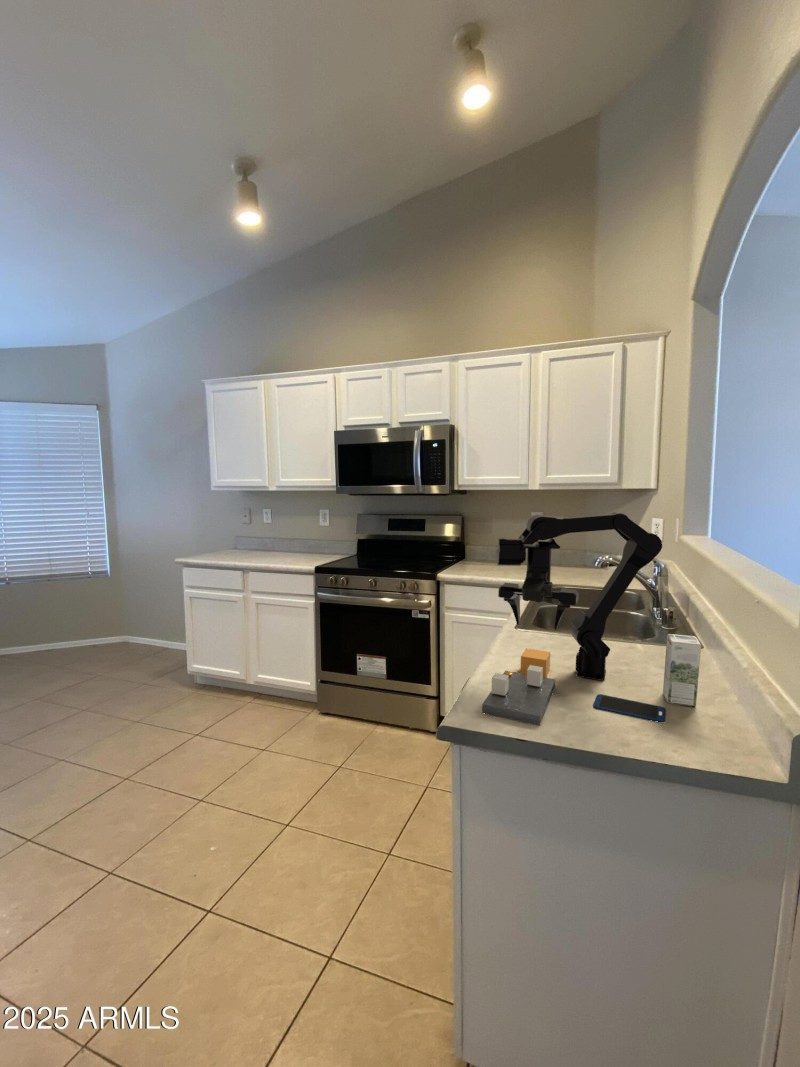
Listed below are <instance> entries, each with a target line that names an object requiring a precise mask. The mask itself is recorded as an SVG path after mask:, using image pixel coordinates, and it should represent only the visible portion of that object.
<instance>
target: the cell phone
mask: <svg viewBox="0 0 800 1067" xmlns="http://www.w3.org/2000/svg"><path fill="white" fill-rule="evenodd" d="M592 708H593V709H596V710H598V711H599V710H601V711H605V712H608V713H612V714H618V715H623V716H627V717H631V718H632V717H633V718H636V719H641V720H646V721H650V720H652V721H651V722H655V721H658V722H657V723H659V722H665V723H666V715H667V710H666V708H665V707H664V706H661V705H656V704H651V703H647V702H642V701H637V700H632V699H631V700H630V699H626V698H623V697H622V698H621V697H617V696H616V697H615V696H611V695H607V694H601V693H599V694H597V695H596V697H595V699H594V702H593V705H592Z"/></svg>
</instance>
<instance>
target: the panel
mask: <svg viewBox="0 0 800 1067" xmlns="http://www.w3.org/2000/svg"><path fill="white" fill-rule="evenodd" d="M502 674H504V675H509V682H508V692H507V693H506V695H505V696H504V695H499V694H494V693H491V692H492V690H491V691H490V692H489V693H488V695H487V697H486V698H485V699H484V701H483V702H482V703H481V714H483V713H485V714H484V715H488V714H489V715H488V716H492V715H493V717H497V716H498V718H502V719H507V720H511V721H517V722H521V723H526V724H531V725H535V726H541V723H542V721H543V719H544V717H545V715H546V711H547V709H548V707H549V704H550V702H551V700H552V696H553V694H554V692H555V689H556V678H550V677H546V678H545V677H543V681H542V684H541V686H540V687H539V686H533V685H528V684H527V674H522V673H520V672H515V671H509V670H505V671H504V672H503V673H502Z"/></svg>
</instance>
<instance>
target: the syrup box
mask: <svg viewBox="0 0 800 1067" xmlns="http://www.w3.org/2000/svg"><path fill="white" fill-rule="evenodd" d="M701 653H702V645H701V643H700V641H699V639H698V638H697V637H696V636H694V635H686V634H685V635H684V634H672V633H667V634H666V646H665V659H664V660H665V661H664V674H663V689H662V692H663V696H664V697H665V698H664V699H665V700H666V703H667V704H670V703H671V705H677V704H680V705H679V706H684V705H688V706H687V707H692V706H696V707H697V701H698V700H697V698H698V686H699V676H700V666H701V665H700V664H701V663H700V662H701Z"/></svg>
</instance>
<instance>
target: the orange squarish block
mask: <svg viewBox="0 0 800 1067" xmlns="http://www.w3.org/2000/svg"><path fill="white" fill-rule="evenodd" d="M530 665H532V666H538V667H543V677H545V678H548V675H549V673H550V671H551V651H547V650H539V649H532V648H525V649H524V651H523V652H522V654H521V655H520V672H519V673H522V674H527V669H528V668H529V666H530Z"/></svg>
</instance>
